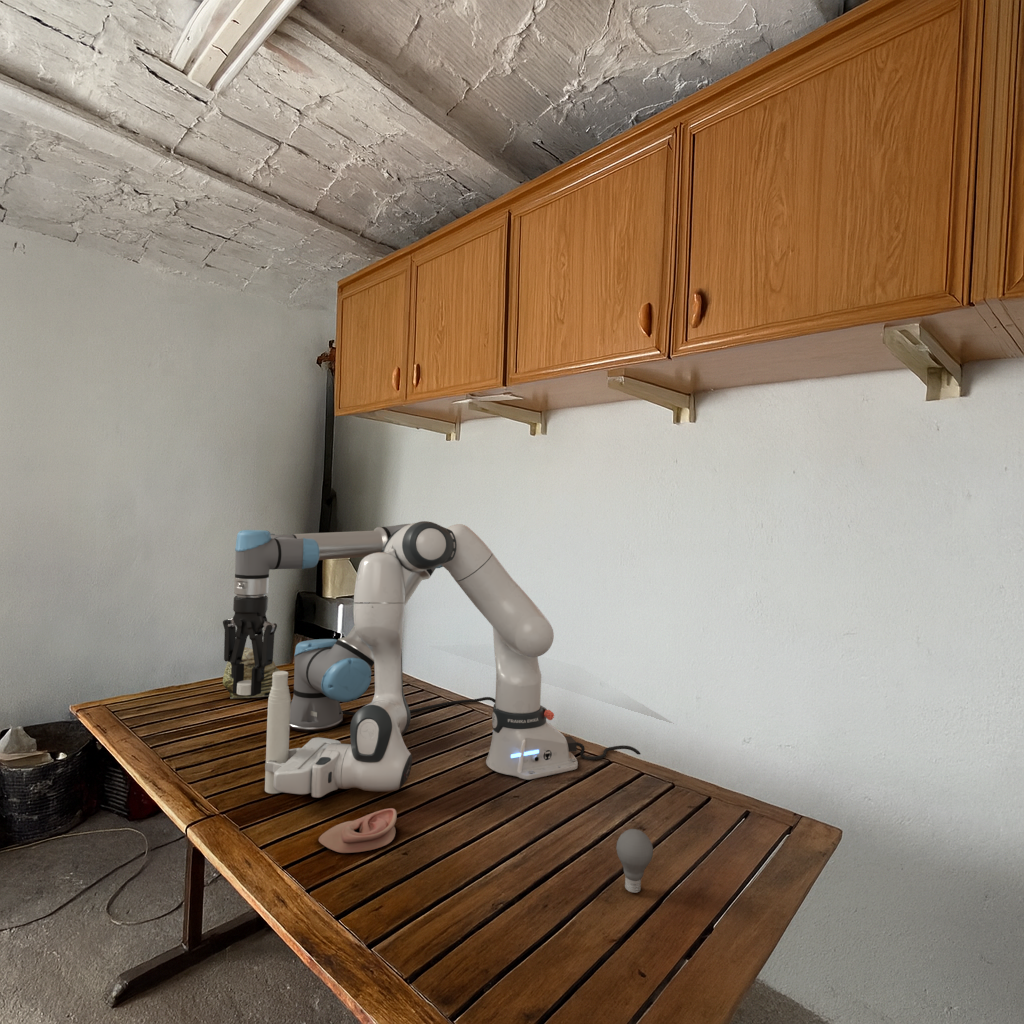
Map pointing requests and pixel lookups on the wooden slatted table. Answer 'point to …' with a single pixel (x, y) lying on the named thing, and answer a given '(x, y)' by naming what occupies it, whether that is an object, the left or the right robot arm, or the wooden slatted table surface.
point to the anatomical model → (362, 833)
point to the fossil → (250, 675)
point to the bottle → (277, 725)
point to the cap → (244, 687)
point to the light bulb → (634, 857)
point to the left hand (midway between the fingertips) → (246, 692)
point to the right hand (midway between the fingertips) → (273, 759)
